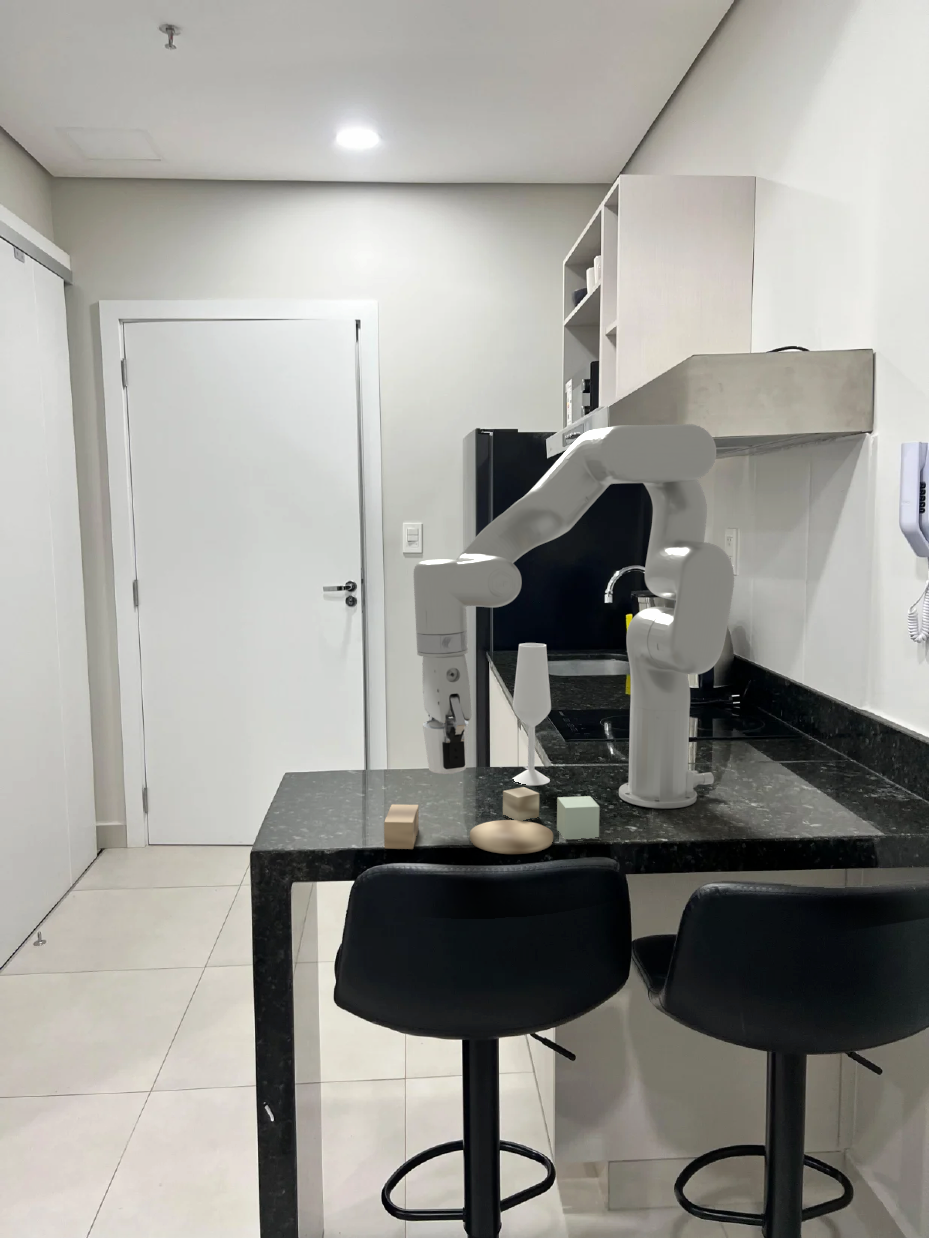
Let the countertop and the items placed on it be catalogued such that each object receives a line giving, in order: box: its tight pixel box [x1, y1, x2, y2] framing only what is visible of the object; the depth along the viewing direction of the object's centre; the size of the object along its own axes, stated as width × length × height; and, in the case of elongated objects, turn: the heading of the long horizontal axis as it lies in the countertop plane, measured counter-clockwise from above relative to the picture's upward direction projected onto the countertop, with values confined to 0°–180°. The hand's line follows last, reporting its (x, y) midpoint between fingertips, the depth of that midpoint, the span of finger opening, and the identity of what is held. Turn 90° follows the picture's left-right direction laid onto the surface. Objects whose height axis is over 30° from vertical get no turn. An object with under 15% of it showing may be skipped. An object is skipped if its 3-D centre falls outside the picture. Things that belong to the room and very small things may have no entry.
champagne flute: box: [512, 642, 552, 786], centre depth 164 cm, size 7×7×24 cm
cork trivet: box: [469, 819, 554, 855], centre depth 136 cm, size 12×12×1 cm
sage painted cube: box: [556, 795, 600, 840], centre depth 138 cm, size 5×5×5 cm
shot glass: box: [422, 717, 470, 775], centre depth 141 cm, size 7×7×7 cm
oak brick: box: [383, 803, 420, 850], centre depth 136 cm, size 8×4×4 cm, turn 177°
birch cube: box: [502, 786, 540, 821], centre depth 146 cm, size 4×4×4 cm
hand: (447, 760), depth 141 cm, fingers closed on shot glass, 6 cm apart
